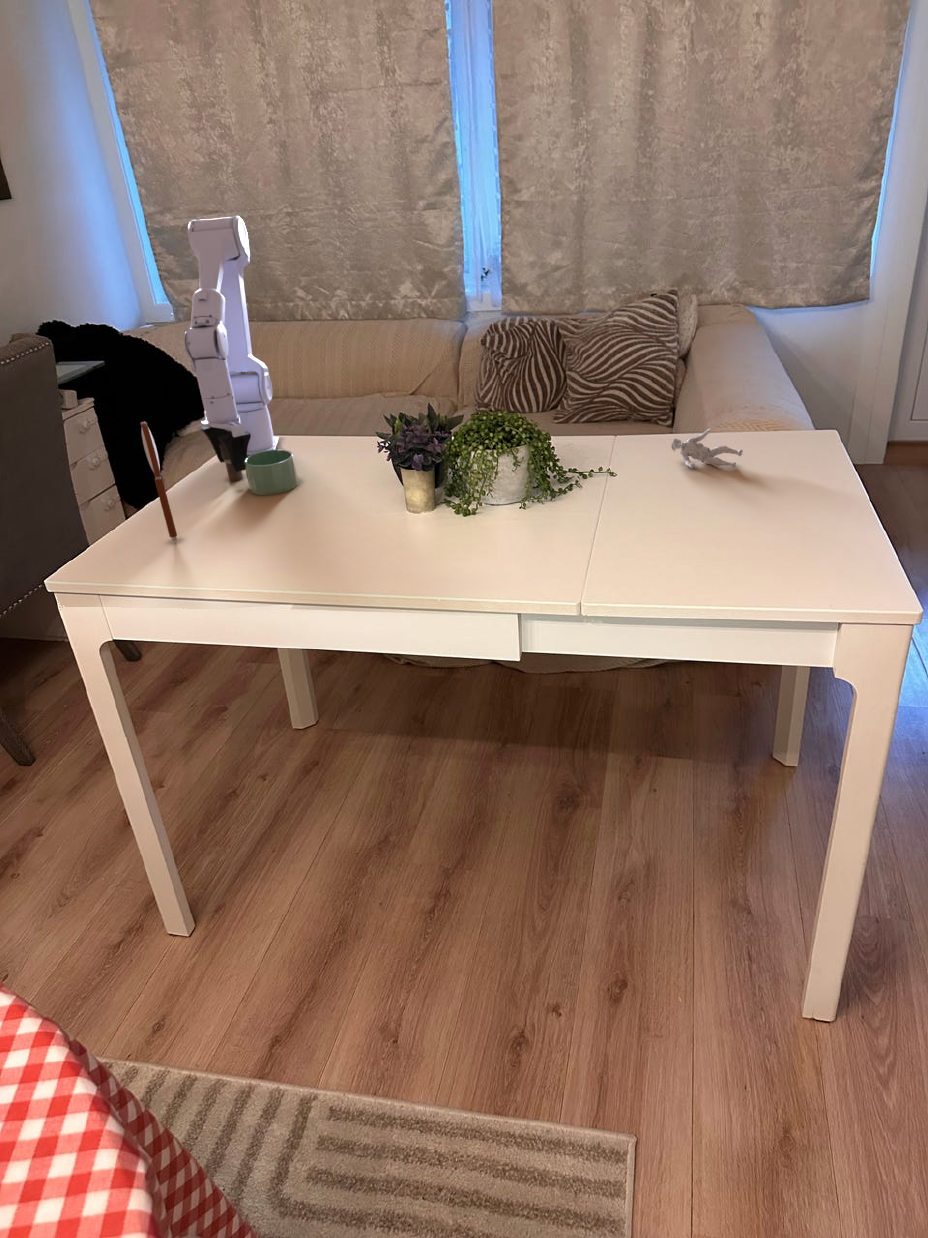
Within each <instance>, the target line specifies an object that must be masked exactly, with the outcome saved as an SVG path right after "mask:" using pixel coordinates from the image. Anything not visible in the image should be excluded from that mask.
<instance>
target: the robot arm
mask: <svg viewBox="0 0 928 1238" xmlns="http://www.w3.org/2000/svg"><path fill="white" fill-rule="evenodd" d="M187 237H188V242H189V245H190V247H191V248H190V249H191V250H192V251H193V253H194V255H195V258H196V259H197V260H198V281H199V283H198V284H199V289H198V290H196V291H195V292H194V293H193V295H192V302H191V303H192V304H191V318H190V328H189V330H188V331H185V333H184V336H183V337H184V338H183V341H184V350H185V354H186V356H187V358H188V360H189V362H190V365H191V368H192V372H194V373H195V374H196V378H197V383H198V388H199V390H200V391H199V392H200V396H201V401H202V405H203V409H204V411H203V414H204V418H205V419H204V420H202V421H201V422H200V425H201V427H200V429H201V432H203V433H204V435H205V436H206V437H207V439H208V441H209V442H210V444H211V446H212V448H213V450H214V452H215V455H216V457H217V459H218V461H219V462H220V463H225V462H224V459H223V458H222V453H221V449H220V443H222V444H223V446H224V447H225V449H226V451H227V453H228V455H229V458H230V461H231V464H232V467H233V469H234V470H235V472H239V471H242V472H243V471H246V470H245V465H244V460H245V458H247V457H248V456H250V455H252V454H255V453H258V452H262V451H267V450H277V449H276V448H277V445H278V442H279V439H280V436H274V431H273V426H272V420H271V415H270V410H269V409H268V405H269V404H270V403H271V401H272V399H273V385H272V380H271V378H270V373H269V367H268V366H267V365H266V364H265V363H264V362H263V361H261V360H260V359H258V358H257V357H255V356H254V355H253V350H252V341H251V333H250V324H249V317H248V308H247V297H246V292H245V283H244V268H245V267H246V266H247V265H249V264H250V263H251V260H250V258H251V252H250V244H249V238H248V237H249V235H248V231H247V228H246V225H245V222H244V220H243V219H242V218H241V217H240V216H239V215H234V216H227V217H219V218H218V217H217V218H207V219H191V220H190V221H189V223H188V225H187ZM244 372H246V373H244ZM247 372H248V373H247ZM249 372H250V373H249ZM251 372H252V373H251ZM235 373H237V374H235Z"/></svg>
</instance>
